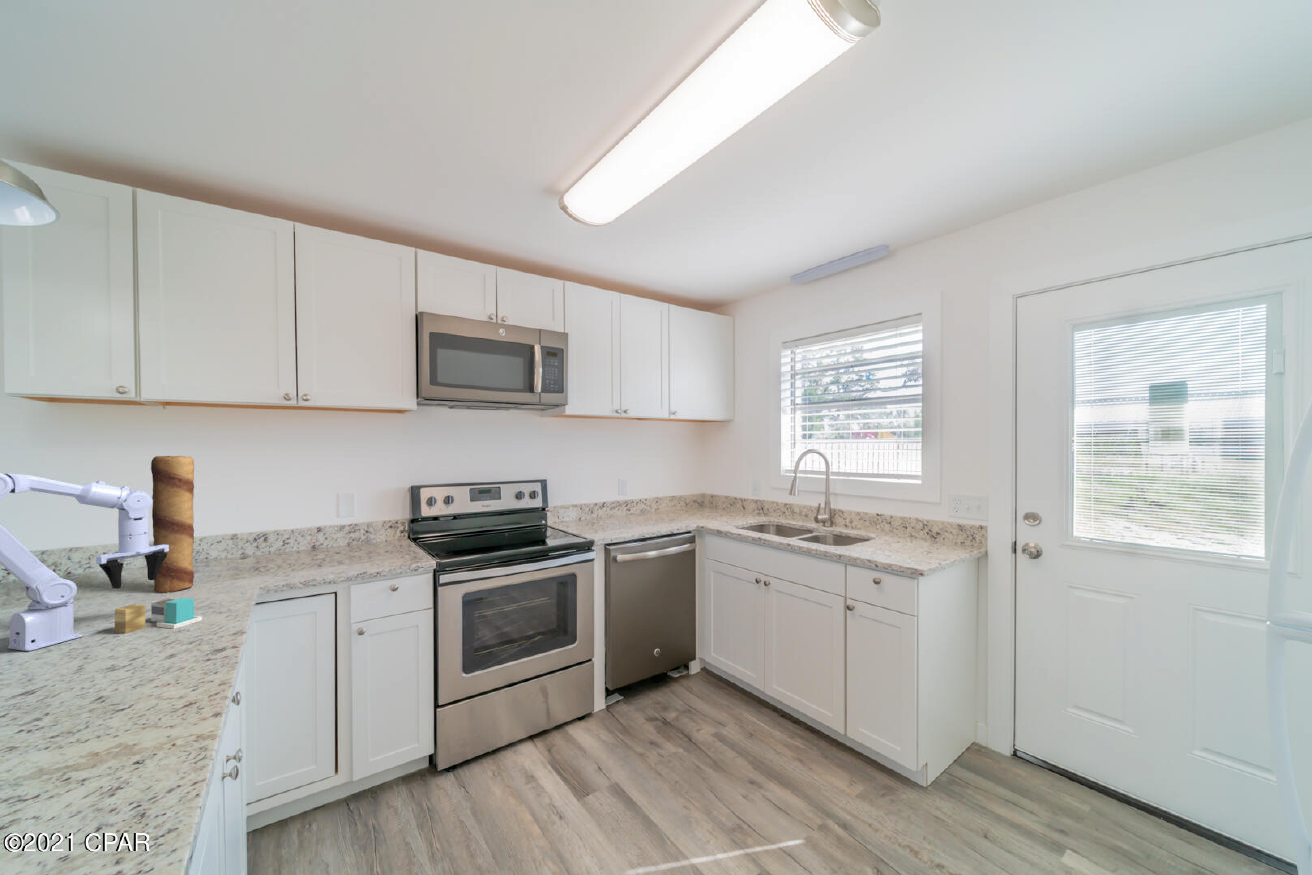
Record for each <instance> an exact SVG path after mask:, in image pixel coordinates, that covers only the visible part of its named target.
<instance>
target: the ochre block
mask: <svg viewBox="0 0 1312 875" xmlns="http://www.w3.org/2000/svg"><path fill="white" fill-rule="evenodd" d="M143 628H144V629H146V605H145V604H136V603H135V604H131V605H126V606H122V607H118V608H115V609H114V633H115V634H124V633H126V634H129V633H134V632H136V631H135V630H137V631H139V630H138V629H140V630H142V629H143Z"/></svg>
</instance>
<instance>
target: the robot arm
mask: <svg viewBox="0 0 1312 875" xmlns="http://www.w3.org/2000/svg"><path fill="white" fill-rule="evenodd" d="M29 491H32V492H38V493H44V494H52V495H59V496H63V497H64V496H65V497H72V498H75V500H76V501H77V502H78V503H79V504H81V505H86V506H88V505H89V506H93V507H100V508H105V509H113V510H114V509H116V510H118V519H117V520H118V522H117V524H118V527H117V528H118V551H115V552H110V553H107V554H102V555H96V556H95V564H97V565H98V567H99V568H100V569H101V570H102V571H103V572H104V574H105V575H106V577H107V578H108V580H109V582H110V584H111V588H112V589H121V588H122V571H123V568H124V562H120V561H123V560H127V559H132V558H133V559H134V558H138V557H139V558H140V557H143V556H144V558H145V562H146V567H147V575H146V576H147V580H148V581H154V580H156V578H157V575H158V572H159V569H160V567H161V565H162V563H163V561H164V560H165V558H166V557H167V553H164V552H168V551H169V545H165V544H163V545H157V546H154V545H151V546H150V529H149V528H150V522H149V520H150V519H149V509H150V508H151V507H152V506H153V500H152V496H151V495H150V494H149V493H148V492H146V491H143V490H137V489H136V490H135V489H132V488H131V489H130V487H129V486H121V487H120V486H115V485H109V484H106V482H105V481H101V480H97V481H96V482H94V481H91V482H87V483H84V484H82V485H80V484H75V483H70V482H65V481H59V480H55V479H49V478H45V477H40V476H35V475H30V474H19V473H18V474H17V473H2V472H0V501H1V500H3V499H4V498H5V497H7V495H8V494H20V493H23V492H24V493H25V492H29ZM0 565H1V566H3V567H4V569H6V570H7V571H8V572H9V573H10V574H11V575H12V576H13V577H15V579H17V580H18V582H19V583H20V584H21V585H22V586H23V588H24V590H25V595H26V597H27V598H28V599H29V600H31V602H30V603H29V604H28V605H27V609H24V610H23V611H20V612H16V613H14V614H13V615H12V616H11V617H10V620H9V645H8V646H7V647H6V648H7V649H9V650H18V651H24V652H32V651H35V650H38V649H42V648H46V647H50V646H53V645H57V644H60V643H64V642H68V641H71V640H75V639H79V638H82V637H84V634H83V633H82V634H81V633H75V632H74V631H75V630H74V629H75V628H74V625H75V624H74V622H75V621H74V620H75V619H74V618H75V615H74V614H75V611H74V610H75V599H74V597H75V596H76V594H77V592H78V587H77V585H76V583H75V582H74V581H71V580H70V579H67V578H66V579H65V578H63V577H60V576H59V575H58V574H57V573H55V572H54V571H53V570H52V569H50V568H48V567H47V566H46V565H45V564H44V563H43V562H41V561H40V560H39V559H38V558H37V557H36V556H35V555H34V554H33V553H31V551H30V550H28V548H26V547H25V546H24V545H23V544H22V543H21V542H20V541H19V540H18V539H16V538H15V537H14V536H13V535H12V534H11V533H10V532H9V531H8V530H7V529H6V528H5V527H4V526H2V525H1V524H0Z"/></svg>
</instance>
